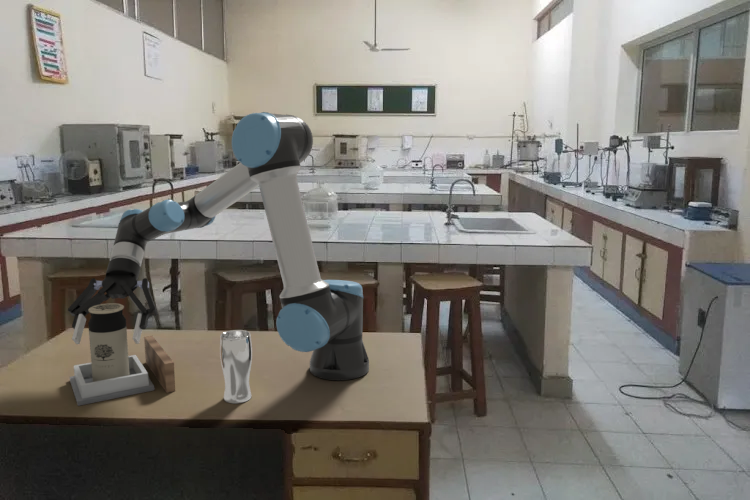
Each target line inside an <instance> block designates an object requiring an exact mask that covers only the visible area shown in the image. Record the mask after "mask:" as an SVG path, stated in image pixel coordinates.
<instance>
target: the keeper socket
mask: <svg viewBox="0 0 750 500" xmlns="http://www.w3.org/2000/svg"><path fill="white" fill-rule="evenodd" d="M128 358H129V373H130V375H128V376H122V377H117V378H112V379H107V380H101V381H96V382H93V378H92V365H91V362H86V363H81V364H75V365H73V374H74V375H72V376H69V382H70V385H71V388H72V391H73V394H74V398H75V401H76V405H77V406H78V407H79V406H84V405H90V404H93V403H98V402H103V401H108V400H113V399H118V398H123V397H129V396H133V395H136V394H137V395H138V394H141V393H142V394H143V393H146V392H147V393H149V392H151V391H155V384H153V382H152V381H151V378H150V377H149V372H148V371H147V370H146V368H145V367H144V365H143V363H142V362H141V361H140V359H139V358H138V356H137V354H132V355H128Z"/></svg>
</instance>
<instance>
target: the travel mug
mask: <svg viewBox="0 0 750 500" xmlns="http://www.w3.org/2000/svg"><path fill="white" fill-rule="evenodd" d="M124 309H125V305H123V304H121V303H118V302H117V303H116V302H115V303H113V302H112V303H110V302H109V303H101V304H100V305H95V306H93V307H90V308H89V310H88V311H89V312H90V313H89V314H90V319H89V321H88V323H87V326H88V336H89V337H88V338H89V350H90V352H89V353H90V363H91V365H92V378H93V382H96V381H101V380H107V379H112V378H117V377H122V376H128V375H130V373H129V358H128V356H129V348H128V347H129V345H128V331H127V318H126V317H125V315H124V314H123V310H124Z"/></svg>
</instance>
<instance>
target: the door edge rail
mask: <svg viewBox="0 0 750 500" xmlns="http://www.w3.org/2000/svg"><path fill="white" fill-rule="evenodd" d="M143 338H144V340H143V341H144V353H145V358H144V359H145V364H146V365H147V366H148V368H149V369H150V371H151V372H152V374H153V376H154V377H155V379H156V380H157V381H158V383H159V384H160V386H161V387H162V388H163V390H164V392H165V393H166V394H169V393H172V392H176V379H175V378H176V377H175V374H176V373H175V362H174V360H173V359H172V358H171V357H170V356H169V354H168V353H167V352H166V351H165V350H164V348H163V347H162V346H161V344H159V342H158V341H157V339H156V338H155V337H154V336H153V335H149V336H144V337H143Z"/></svg>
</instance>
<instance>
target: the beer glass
mask: <svg viewBox="0 0 750 500" xmlns="http://www.w3.org/2000/svg"><path fill="white" fill-rule="evenodd" d="M251 334H252V333H251V332H250V331H248V330H246V329H244V330H243V329H231V330H227V331H224V332H221V333H220V338H219V339H220V340H219V357H220V365H221V369H222V374H223V378H224V392H223V393H224V394H223V401H225V402H226V403H228V404H234V405H235V404H242V403H247V402H248V401H250V400H251V398H252V392H251V387H250V373H251V369H252V363H253V362H252V360H253V345H252V336H251Z"/></svg>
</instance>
